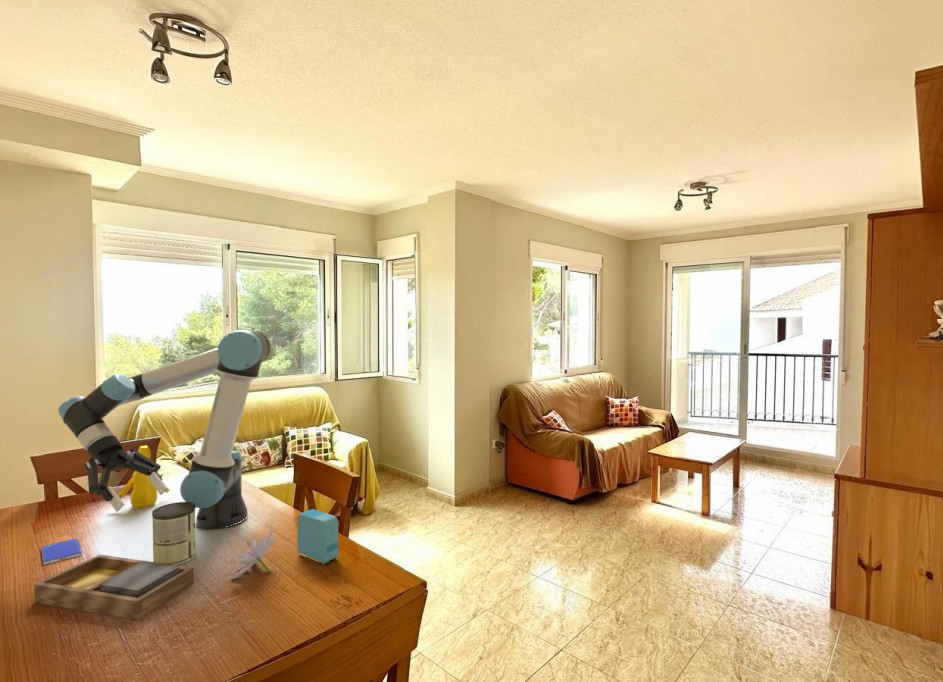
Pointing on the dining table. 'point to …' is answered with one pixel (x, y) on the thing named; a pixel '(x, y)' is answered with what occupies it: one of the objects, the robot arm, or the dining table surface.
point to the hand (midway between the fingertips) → (143, 499)
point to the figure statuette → (141, 486)
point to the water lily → (254, 554)
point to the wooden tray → (114, 586)
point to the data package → (317, 535)
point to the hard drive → (61, 551)
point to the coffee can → (174, 533)
